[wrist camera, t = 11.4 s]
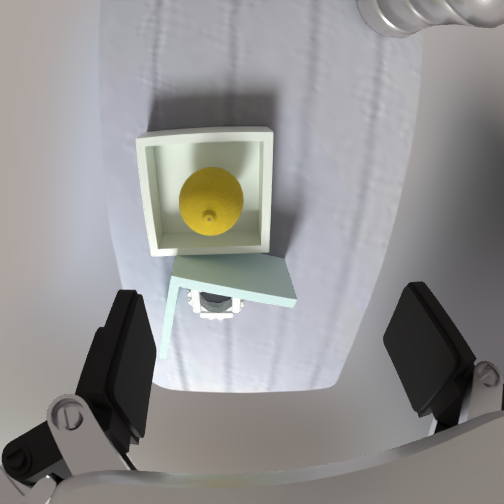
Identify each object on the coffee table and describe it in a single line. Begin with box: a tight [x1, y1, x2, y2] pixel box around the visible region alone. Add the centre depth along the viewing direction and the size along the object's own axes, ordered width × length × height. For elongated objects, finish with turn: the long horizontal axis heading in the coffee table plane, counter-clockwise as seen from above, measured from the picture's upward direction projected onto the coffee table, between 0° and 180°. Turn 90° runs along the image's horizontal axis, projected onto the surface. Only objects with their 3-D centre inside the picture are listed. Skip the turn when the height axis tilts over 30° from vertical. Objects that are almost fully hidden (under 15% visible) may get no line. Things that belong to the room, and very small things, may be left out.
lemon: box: [179, 167, 244, 236], centre depth 25 cm, size 6×6×8 cm
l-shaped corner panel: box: [159, 253, 297, 360], centre depth 33 cm, size 12×12×8 cm
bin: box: [136, 126, 273, 256], centre depth 28 cm, size 12×12×4 cm
